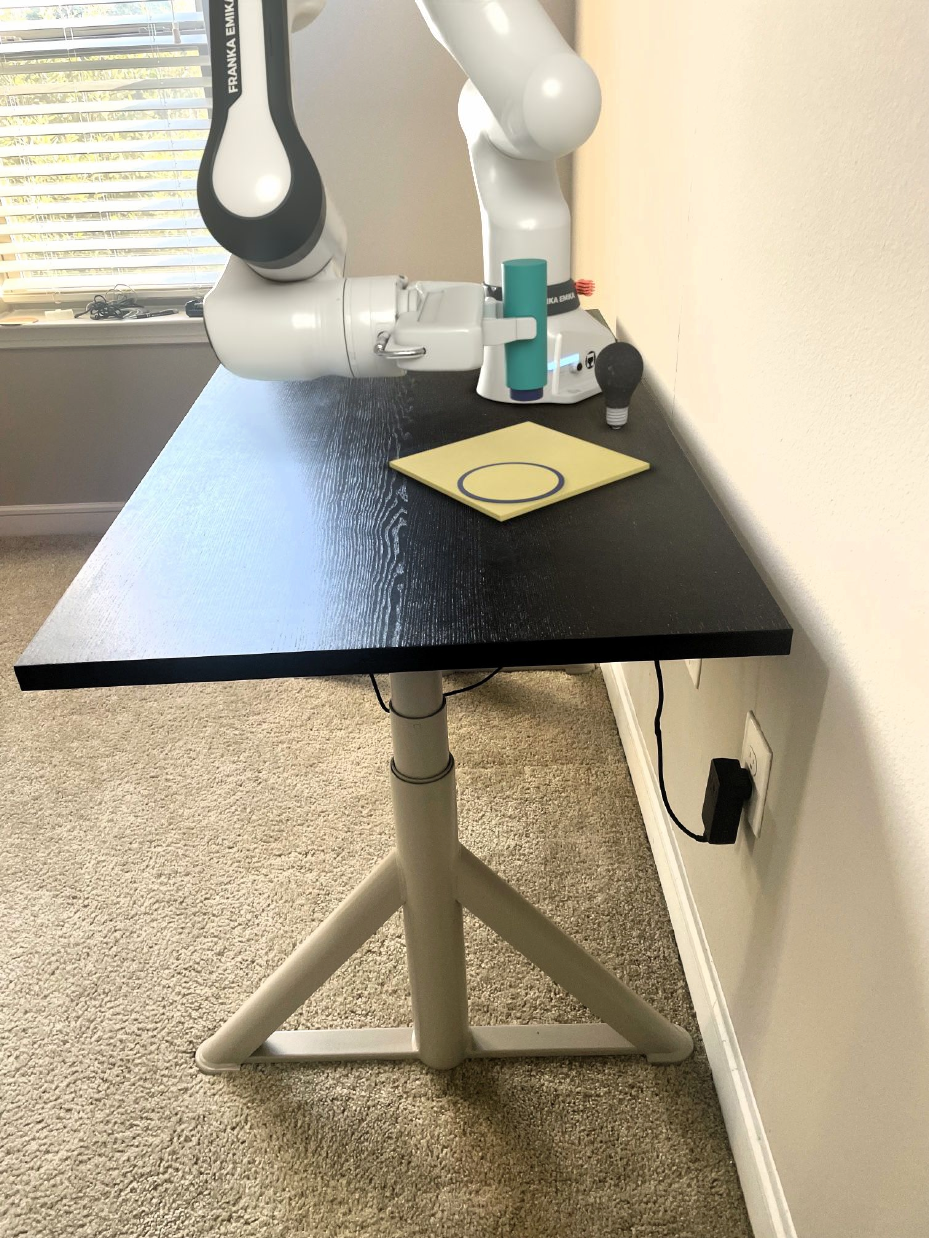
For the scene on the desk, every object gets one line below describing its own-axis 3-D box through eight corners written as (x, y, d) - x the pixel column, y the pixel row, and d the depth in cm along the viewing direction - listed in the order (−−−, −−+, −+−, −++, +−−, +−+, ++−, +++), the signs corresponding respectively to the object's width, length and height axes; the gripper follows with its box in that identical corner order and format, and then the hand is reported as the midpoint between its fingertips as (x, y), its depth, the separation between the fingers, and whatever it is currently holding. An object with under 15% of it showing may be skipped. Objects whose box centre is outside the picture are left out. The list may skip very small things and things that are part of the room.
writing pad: (528, 425, 105) (528, 420, 105) (649, 468, 91) (649, 462, 91) (389, 466, 96) (389, 460, 95) (500, 521, 81) (500, 514, 81)
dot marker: (529, 388, 84) (527, 257, 78) (556, 396, 82) (556, 261, 75) (496, 397, 82) (492, 263, 76) (523, 405, 80) (521, 267, 73)
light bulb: (590, 421, 106) (592, 337, 100) (636, 419, 105) (641, 335, 100) (595, 436, 101) (597, 349, 96) (643, 434, 100) (648, 347, 95)
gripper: (365, 315, 69) (539, 307, 68) (392, 272, 86) (530, 265, 85) (374, 394, 72) (540, 386, 71) (398, 337, 89) (531, 330, 89)
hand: (535, 320), depth 78 cm, fingers closed on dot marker, 4 cm apart
